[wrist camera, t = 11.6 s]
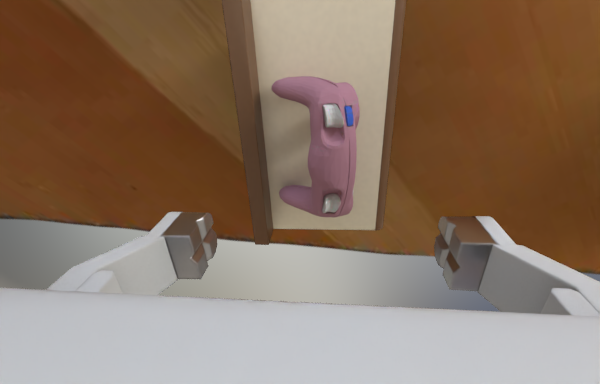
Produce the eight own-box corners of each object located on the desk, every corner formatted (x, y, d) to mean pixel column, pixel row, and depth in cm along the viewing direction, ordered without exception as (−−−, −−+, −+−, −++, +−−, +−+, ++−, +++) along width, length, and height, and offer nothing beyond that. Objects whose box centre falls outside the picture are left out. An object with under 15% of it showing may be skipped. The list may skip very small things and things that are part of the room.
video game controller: (324, 188, 27) (367, 228, 21) (276, 198, 25) (308, 244, 19) (325, 70, 22) (381, 79, 16) (266, 74, 21) (304, 86, 15)
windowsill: (384, 4, 27) (420, -18, 16) (370, 184, 35) (389, 247, 24) (261, 11, 28) (220, -5, 17) (276, 184, 36) (255, 244, 25)
